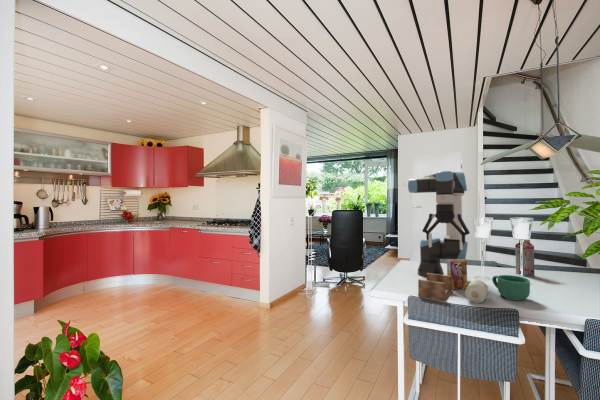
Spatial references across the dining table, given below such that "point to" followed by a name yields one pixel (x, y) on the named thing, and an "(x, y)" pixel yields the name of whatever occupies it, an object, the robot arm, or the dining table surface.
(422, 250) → the robot arm
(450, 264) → the candy box
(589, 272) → the dining table surface
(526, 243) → the juice carton
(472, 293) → the roll
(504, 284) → the mug
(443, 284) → the cradle
